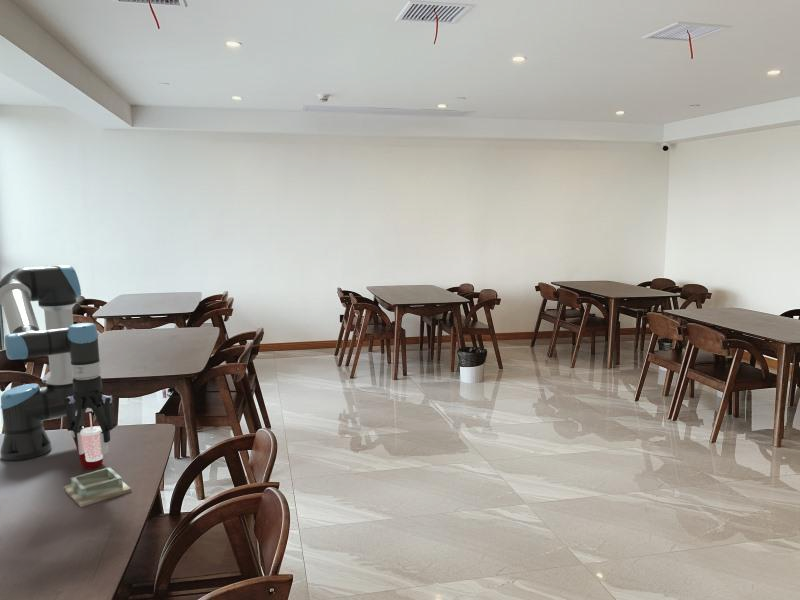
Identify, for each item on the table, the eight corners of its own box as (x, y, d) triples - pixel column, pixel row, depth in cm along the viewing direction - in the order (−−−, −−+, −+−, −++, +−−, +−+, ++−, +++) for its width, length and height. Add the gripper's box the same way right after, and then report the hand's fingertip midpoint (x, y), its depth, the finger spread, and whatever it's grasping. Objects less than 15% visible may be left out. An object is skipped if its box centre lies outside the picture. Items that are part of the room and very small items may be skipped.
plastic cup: (117, 459, 207) (114, 425, 205) (98, 472, 196) (95, 436, 195) (87, 458, 208) (83, 424, 206) (67, 472, 197) (63, 436, 196)
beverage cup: (84, 464, 178) (79, 418, 176) (81, 457, 183) (77, 412, 181) (107, 459, 181) (103, 413, 179) (104, 453, 186) (100, 408, 184)
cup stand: (64, 489, 185) (62, 476, 184) (112, 475, 194) (111, 463, 194) (80, 507, 173) (79, 493, 172) (131, 491, 182) (130, 478, 182)
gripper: (47, 380, 175) (55, 457, 178) (112, 379, 175) (119, 457, 178) (62, 373, 183) (69, 448, 186) (125, 372, 182) (131, 447, 185)
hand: (94, 452), depth 182 cm, fingers closed on beverage cup, 6 cm apart
